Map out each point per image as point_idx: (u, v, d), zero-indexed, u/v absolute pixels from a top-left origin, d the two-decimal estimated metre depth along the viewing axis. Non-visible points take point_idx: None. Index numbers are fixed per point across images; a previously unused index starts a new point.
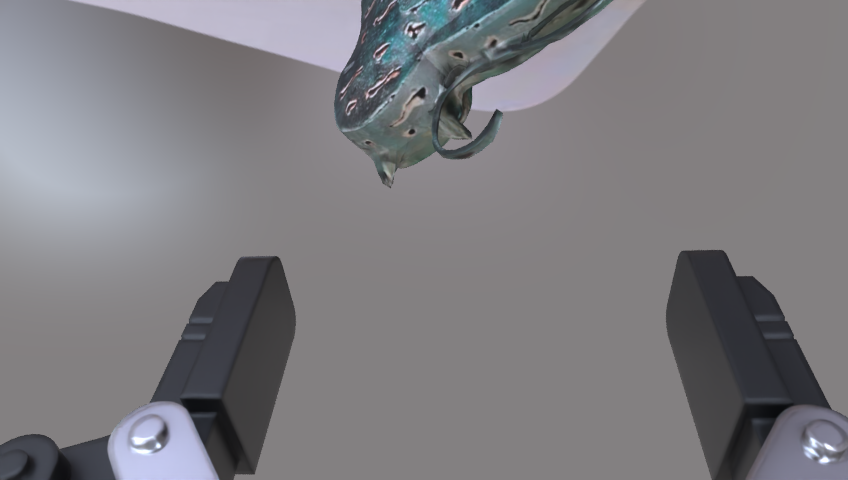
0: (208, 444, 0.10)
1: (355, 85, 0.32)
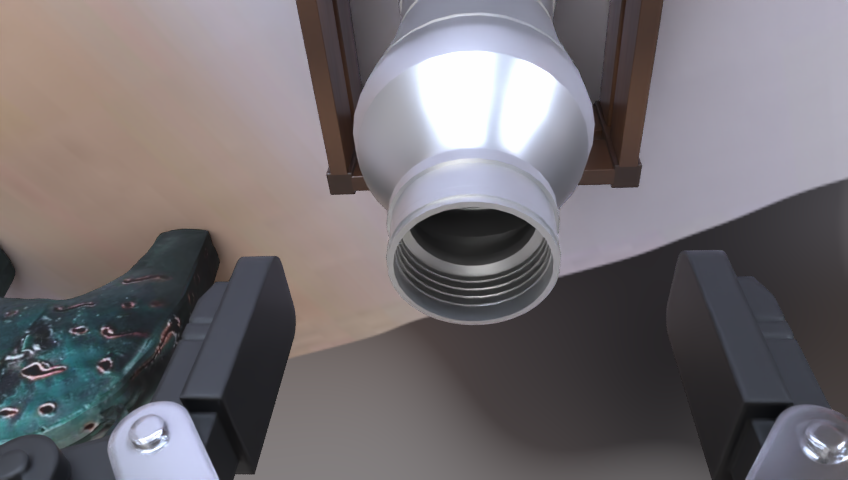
0: (208, 444, 0.10)
1: None
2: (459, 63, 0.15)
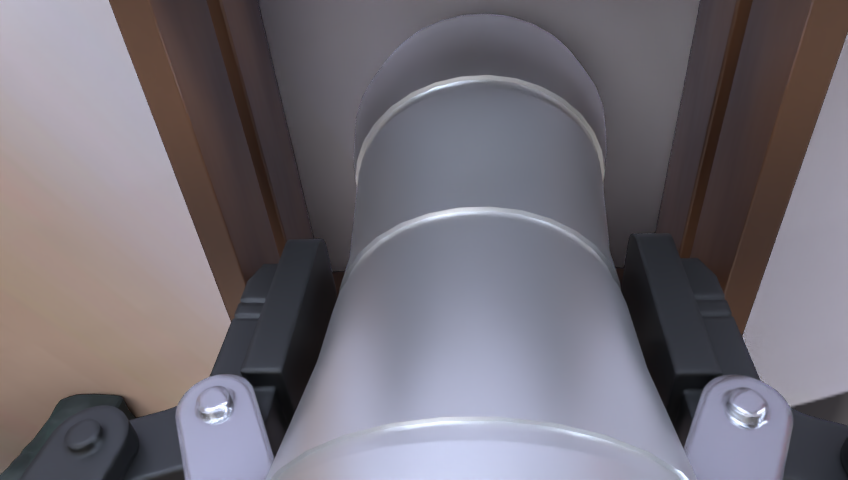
0: (269, 416, 0.10)
1: None
2: None
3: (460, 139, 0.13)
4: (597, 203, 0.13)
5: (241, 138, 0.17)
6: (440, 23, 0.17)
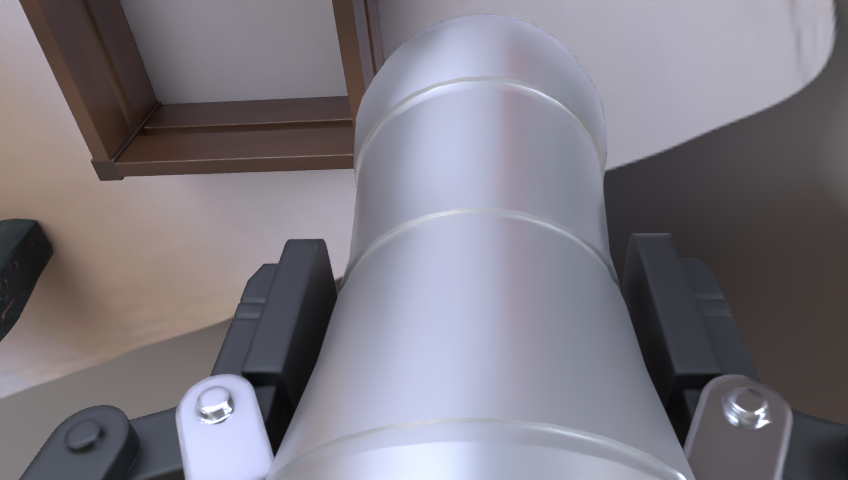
0: (269, 416, 0.10)
1: None
2: None
3: (460, 140, 0.13)
4: (597, 204, 0.13)
5: None
6: (440, 24, 0.17)
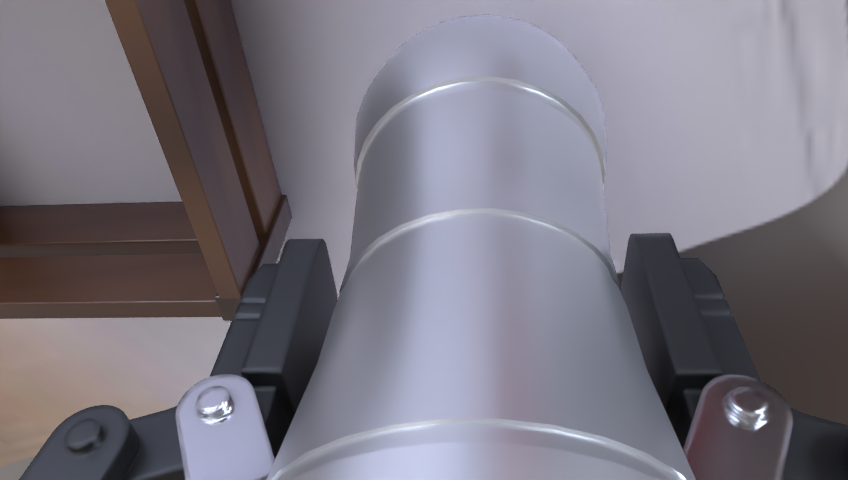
0: (269, 416, 0.10)
1: None
2: None
3: (460, 140, 0.13)
4: (597, 204, 0.13)
5: None
6: (440, 24, 0.17)
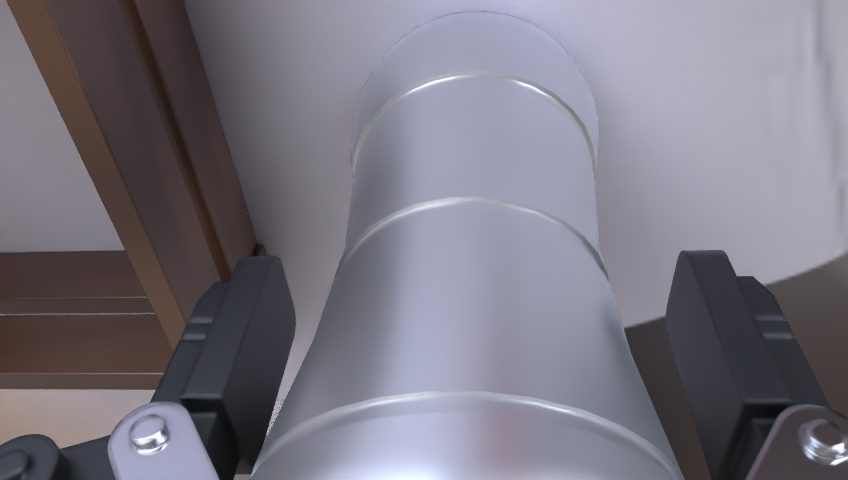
0: (208, 444, 0.10)
1: None
2: None
3: (453, 132, 0.13)
4: (586, 195, 0.13)
5: None
6: (436, 20, 0.17)
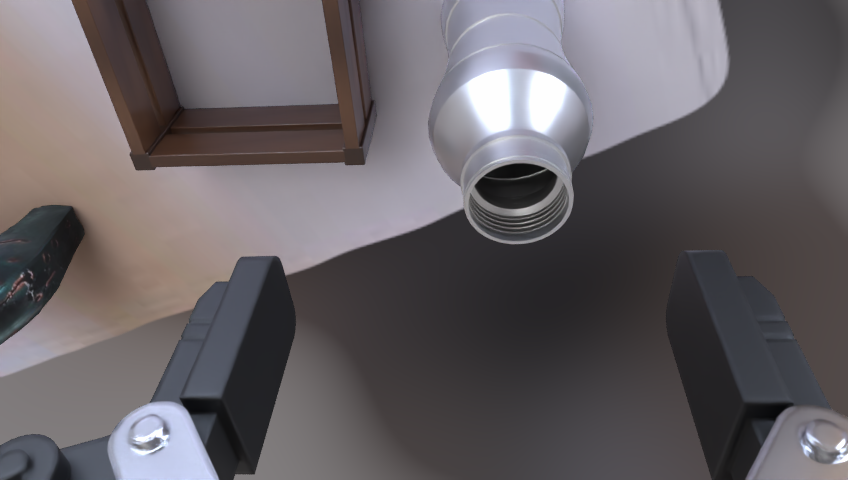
0: (208, 444, 0.10)
1: None
2: (506, 76, 0.24)
3: None
4: (555, 25, 0.31)
5: (114, 7, 0.35)
6: None
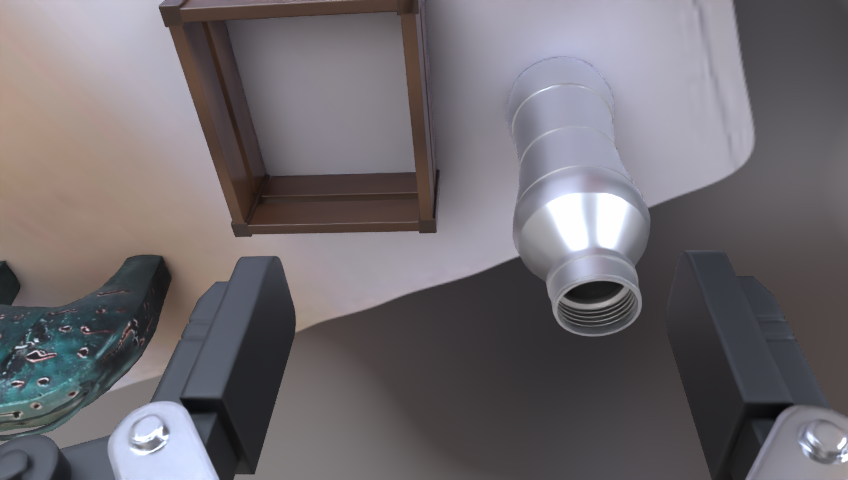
0: (208, 444, 0.10)
1: None
2: (583, 198, 0.29)
3: (563, 105, 0.36)
4: (610, 128, 0.36)
5: (223, 103, 0.41)
6: (545, 60, 0.40)
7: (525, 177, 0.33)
